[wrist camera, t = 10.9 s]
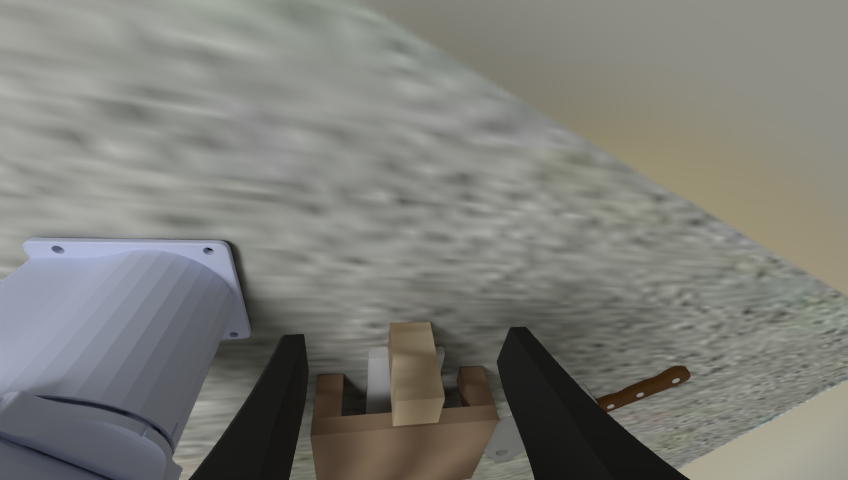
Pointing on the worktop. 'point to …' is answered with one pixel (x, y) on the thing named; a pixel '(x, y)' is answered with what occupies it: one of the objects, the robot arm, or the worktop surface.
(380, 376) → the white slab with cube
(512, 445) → the kitchen knife
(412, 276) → the worktop surface
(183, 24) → the worktop surface
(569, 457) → the robot arm
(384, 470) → the low shelf
